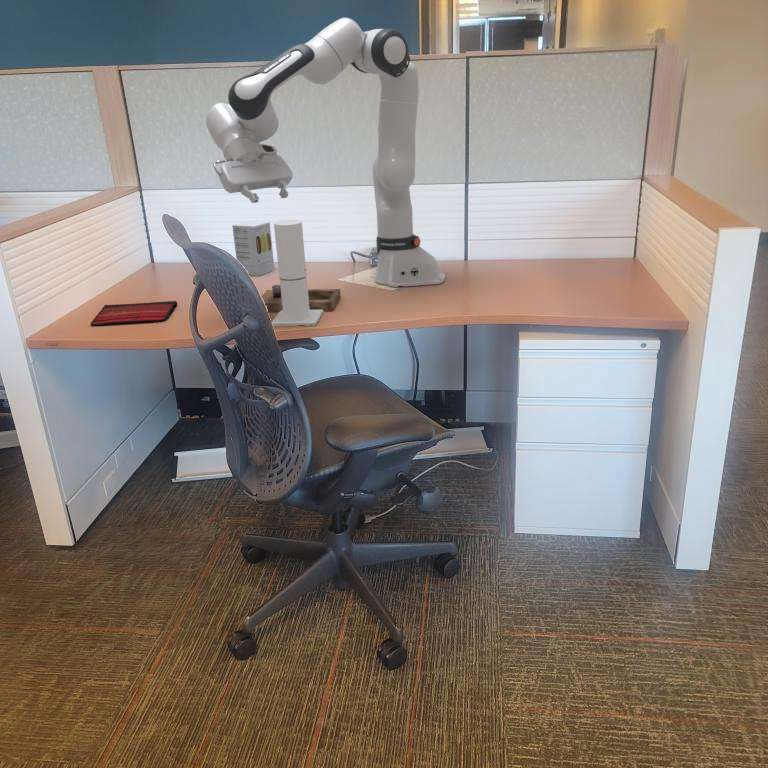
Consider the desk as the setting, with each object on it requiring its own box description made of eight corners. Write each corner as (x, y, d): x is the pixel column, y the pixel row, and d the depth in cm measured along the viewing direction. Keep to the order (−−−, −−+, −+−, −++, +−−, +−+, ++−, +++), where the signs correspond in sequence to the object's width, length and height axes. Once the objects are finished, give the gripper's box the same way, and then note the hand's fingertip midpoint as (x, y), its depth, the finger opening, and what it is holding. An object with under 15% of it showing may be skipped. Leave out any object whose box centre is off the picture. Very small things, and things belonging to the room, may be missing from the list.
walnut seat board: (340, 297, 201) (339, 278, 199) (333, 311, 188) (331, 291, 186) (268, 298, 203) (266, 280, 201) (256, 312, 190) (253, 293, 188)
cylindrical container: (312, 311, 185) (304, 219, 176) (307, 319, 179) (298, 224, 169) (286, 312, 186) (277, 220, 176) (280, 320, 180) (270, 225, 170)
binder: (104, 304, 198) (177, 299, 199) (106, 311, 199) (178, 307, 200) (87, 323, 184) (165, 318, 185) (89, 331, 185) (167, 326, 186)
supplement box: (258, 276, 229) (252, 226, 222) (237, 274, 233) (230, 225, 226) (275, 270, 236) (270, 221, 230) (254, 268, 240) (249, 220, 234)
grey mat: (323, 312, 187) (323, 309, 187) (315, 325, 176) (315, 322, 176) (281, 312, 189) (280, 310, 188) (270, 326, 178) (270, 323, 177)
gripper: (213, 152, 168) (240, 195, 166) (279, 146, 181) (305, 185, 179) (206, 170, 173) (233, 212, 170) (271, 163, 186) (297, 201, 183)
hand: (271, 198), depth 175 cm, fingers open, 8 cm apart
